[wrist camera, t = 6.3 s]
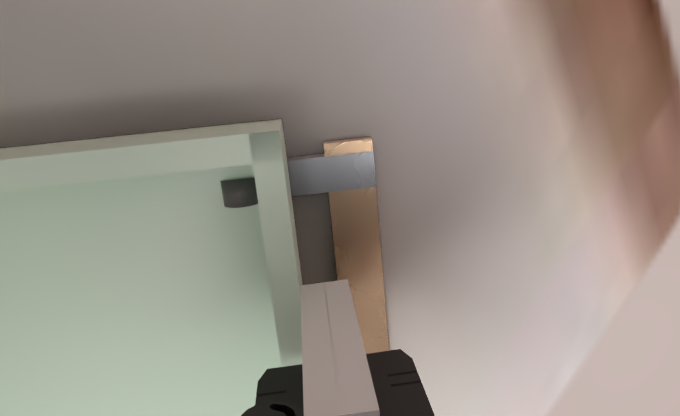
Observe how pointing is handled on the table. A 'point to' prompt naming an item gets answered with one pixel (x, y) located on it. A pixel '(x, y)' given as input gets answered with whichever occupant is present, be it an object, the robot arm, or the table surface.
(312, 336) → the robot arm
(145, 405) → the shallow green tray
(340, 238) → the rails
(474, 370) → the table surface
